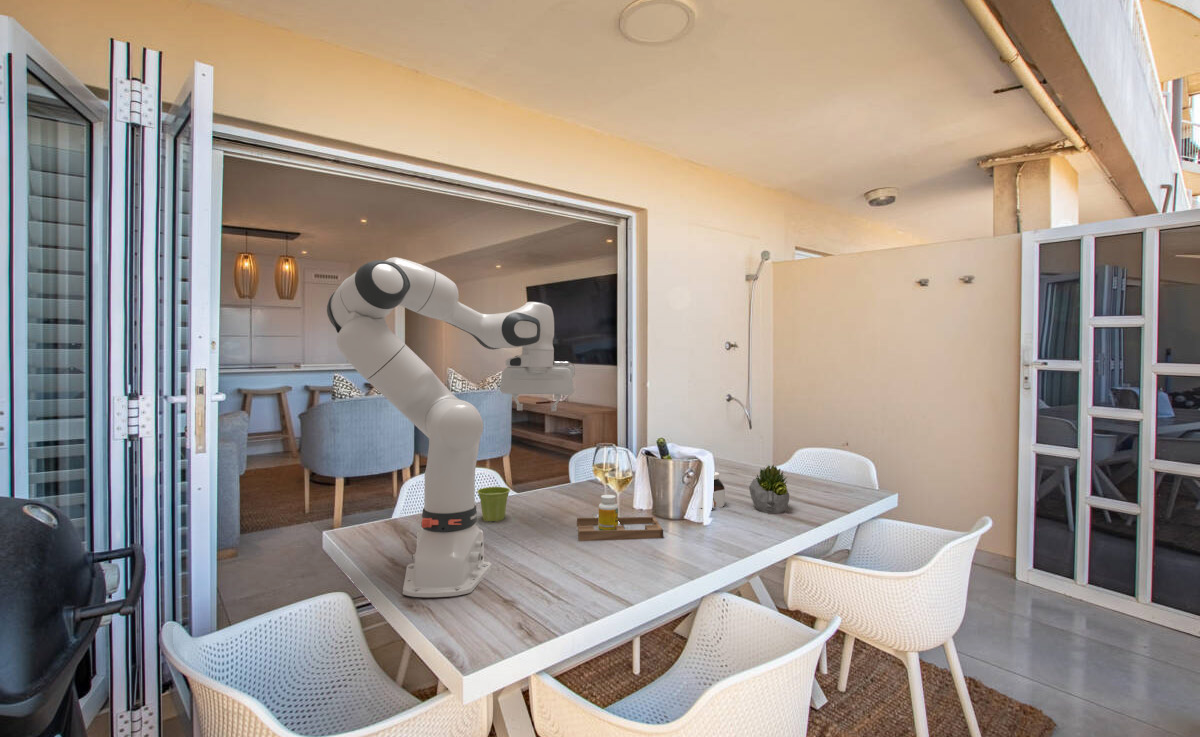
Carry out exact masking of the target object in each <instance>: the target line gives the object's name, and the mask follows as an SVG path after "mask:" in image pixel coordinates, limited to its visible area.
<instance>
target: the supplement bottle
mask: <svg viewBox="0 0 1200 737" xmlns="http://www.w3.org/2000/svg"><path fill="white" fill-rule="evenodd" d="M616 498H617V497H616V495H613V494H602V495H600V503H599V505H598V509H597V510H598V511H597V512H598V514H597V515H598V517H597V518H598V525H597V527H598V529H597V530H615V525H618V517H619V505H618V504H617V503H616V501H617V500H616Z"/></svg>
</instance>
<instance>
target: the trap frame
mask: <svg viewBox="0 0 1200 737" xmlns="http://www.w3.org/2000/svg"><path fill="white" fill-rule="evenodd" d="M618 521H619V522H620V524H622V525H615V530H598V529H595V528H594V526H598V517H577V518H576V527H577V536H578V542H589V541H590V542H593V541H616V540H617V541H620V540H623V541H624V540H646V539H647V540H649V539H664V529H663V527H662V526H661V524H660V523H659V521H658V520H657V519H656V517H655V516H631V517H630V516H627V517H626V516H624V517H622V516H620V517H619V516H618ZM624 525H644V529H625V527H624Z"/></svg>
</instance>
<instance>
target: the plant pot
mask: <svg viewBox="0 0 1200 737" xmlns="http://www.w3.org/2000/svg"><path fill="white" fill-rule="evenodd" d="M476 492H477V494H478V496H479V499H480V507H481V514H482V520H483V521H484V520H485V521H484V522H487V521H489V522H492V521H496V522H500V520H501V521H503V520H504V519H505V517H506V508H507V501H508V497H509V493H510V492H511V489H510V488H508V487H506V486H505V487H504V486H490V487H489V486H488V487H483V488H479V489H478V490H477V491H476Z"/></svg>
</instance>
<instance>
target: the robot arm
mask: <svg viewBox="0 0 1200 737" xmlns="http://www.w3.org/2000/svg"><path fill="white" fill-rule="evenodd" d="M459 294H460V293H459V289H458V287H457V284H456V283H455V282H454V281H453V280H451V279H450V278H449V277H447V276H446V275H444V274H442V273H441V272H439V271H436V270H434V269H432V268H430V267H428V266H425V265H423V264H420V263H418V262H414V261H412V260H409V259H405V258H401V257H396V256H394V257H390V258H387V259H386V260H380V259H377V260H376V259H375V260H372V261H368V262H367V263H364V264H363V265H361V266H360V267H359V268H358V269H357V271H355V272H354V273H352V274H351V275H350V276H349V277H346V278H345V279H344V281H342V282H341V283H340V285H339V286H338V288H337V289H336V290H335V291H334V292H333V293H332V294H331V296H330V297H329V299H328V302H327V305H326V313H327V318H328V320H329V321H330V323H331V325H332V326H333V328H335V331H336V333H337V337H336V346H337V348H338V349H339V351H340V352H341V353H342V355H343V356H344V357H345V359H346V360H347V361H348V363H349V364H350V365H351V366H352V367H353V368H354V369H355V370H356V371H357V373H358V374H359V375H361V377H363V379H365V380H366V381H367V382H368V383H369V384H370V385H371V386H372V387H373V388H374V389H376V390H377V391H378V392H379V393H380V394H381V395H382V396H383V397H384V398H385V399H387V401H388V402H390V403H391V404H392V405H393V406H394V407H395V408H396V409H397V410H398V411H399V412H400V413H401V414H403V416H404V417H406V419H408V420H409V421H410V423H412V424H413V425H414V426H415V427H417V429H418V430H419V431H420V432H422V434H424V436H426V437H427V438H428V440H429V441H428V450H427V451H428V452H427V459H426V460H427V461H426V467H425V471H424V487H423V488H424V497H423V498H424V499H423V500H424V503H423V504H424V506H423V508H422V513H421V519H420V520H421V522H420V523H421V525H420V526H421V528H420V530H419V531H417V532H416V550H415V553H413V554H412V555H411V559H412V561H414V562H413V563H409V564H408V565H406V570H405V575H404V579H403V581H404V582H403V586H402V595H404V596H408V597H415V598H416V597H417V598H444V597H445V598H447V597H457V596H461V595H462V596H463V595H466V594H467V595H468V594H470V593H472V592H473V591H474V590H475V588H477V586H478V585H479V584H480V583H481V581H482V580H483V579H484V578H485V577H486V576H487V574H488V573H489V571H490V570H491V569H492V563H491V562H489V561H486V560H485V552H484V550H485V549H484V531H483V530H482V529H481V528H479V526H478V525H477V520H478V518H477V517H478V511H477V506H476V505H475V503H476V501H475V500H476V499H475V498H476V497H475V496H476V490H475V488H476V486H475V485H476V468H477V462H478V461H477V460H478V455H479V450H480V442H481V437H482V435H483V432H484V421H483V418H482V414H481V413H480V412H479V410H478V409H477V407H476V406H475V405H473V404H472V403H471V402H469V401H466V400H463V399H460V398H458V397H457V396H456V395H454V393H453V392H451V390H450V389H449V388H447V386H446V385H445V384H444V383H443V382H442V381H441V379H440V378H439V377H438V376H437V374H435V373H434V371H433V369H432V368H430V366H429V365H427V364H426V363H425V362H424V360H423V359H421V357H419V356H418V355H417V354H416V352H414V351H413V350H412V349H411V348H410V347H409V346H408V345H407V344H406V343H405V342H404V341H403V340H401V339H400V338H399V337H398V336H397V335H396V334H395V333H394V332H393V331H392V330H391V329H390V328H389V326H388V324H387V322H386V317H387V316H388V315H390V314H391V312H393V311H394V309H395V308H397V307H398V306H401V307H403V308H406V309H407V310H408V311H409V310H410V311H412V312H415V313H417V314H419V315H421V316H424V317H427V318H430V319H435V320H439V321H442V322H444V323H446V324H449V325H452V326H453V327H455V328H457V329H459V330H461V331H464V332H466V333H467V334H469V335H471V336H472V337H473V338H474V339H475V340H476V341H477V342H478V344H479V345H480V346H482V347H483V348H485V349H488V350H499V349H512V348H520V347H521V354H520V355H515V356H513V357H509V358H507V359H505V368H504V369H503V371H502V374H501V379H500V386H499V387H500V389H499V390H500V392H501V393H502V394H506V395H507V394H508V395H509V394H512V398H513V400H514V402H515V404H516V411H523V406H524V405H523V403H520V401H519V400H518V399H519V397H520V396H519V395H555V399H556V400H555V402H554V403H551V405H550V407H551V408H550V411H551V412H557V405H558V404H559V402H560V400H561V398H562V397H561V395H572V394H573V393H574V380H573V378H574V376H575V375H576V367H575V366H574V364H573V363H572V362H570V361H561V360H560V361H557V360H555V356H554V355H555V354H554V353H555V348H554V345H553V341H554V338H555V317H554V311H553V308H552V306H550V305H549V304H547V303H544V302H541V301H527V302H526V303H524V305H522V306H520V307H518V308H516V309H514V310H510V311H508V312H499V313H481V312H479V311H477V310H476V309H473V308H471V307H469V306H468V305H466V304H464V303H461V302H460V301H459V296H460V295H459Z"/></svg>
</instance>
